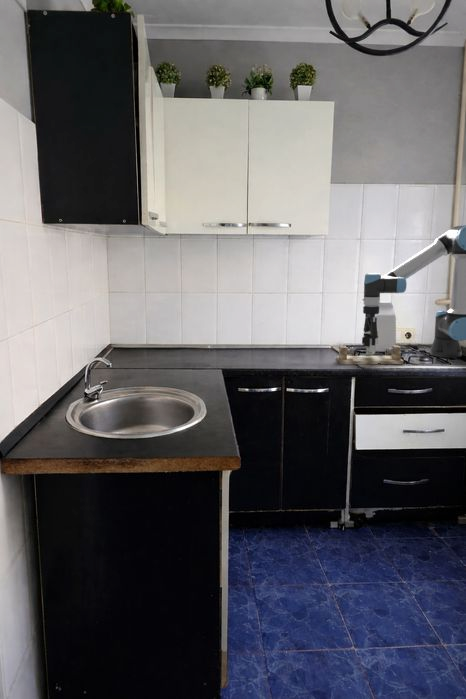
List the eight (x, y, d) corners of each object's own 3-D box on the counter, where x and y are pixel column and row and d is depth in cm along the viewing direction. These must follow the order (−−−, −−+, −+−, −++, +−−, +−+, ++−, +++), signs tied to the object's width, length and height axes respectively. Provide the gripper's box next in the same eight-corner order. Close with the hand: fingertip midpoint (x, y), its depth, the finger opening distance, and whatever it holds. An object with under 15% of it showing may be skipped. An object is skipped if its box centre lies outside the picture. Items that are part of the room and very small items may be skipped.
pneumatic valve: (378, 352, 256) (378, 328, 254) (371, 356, 247) (372, 332, 244) (367, 351, 259) (367, 327, 257) (360, 355, 249) (361, 331, 247)
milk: (372, 351, 277) (374, 303, 272) (371, 347, 288) (373, 300, 283) (396, 351, 274) (398, 303, 269) (394, 347, 285) (396, 301, 280)
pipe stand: (396, 358, 259) (397, 343, 257) (403, 363, 247) (404, 348, 245) (336, 358, 260) (337, 344, 258) (340, 364, 248) (341, 349, 247)
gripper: (358, 302, 260) (357, 344, 264) (368, 308, 236) (367, 354, 240) (373, 302, 260) (371, 344, 264) (385, 308, 236) (383, 354, 240)
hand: (369, 349), depth 252 cm, fingers closed on pneumatic valve, 12 cm apart
